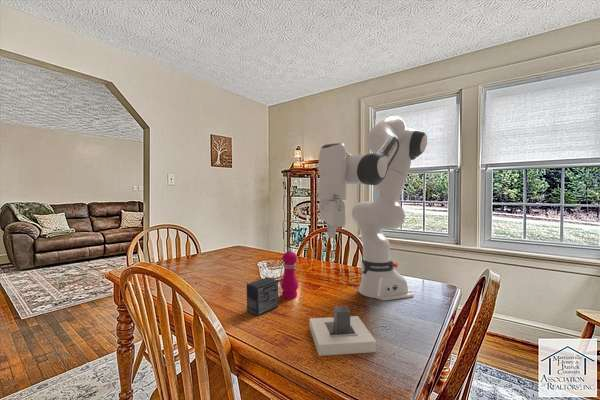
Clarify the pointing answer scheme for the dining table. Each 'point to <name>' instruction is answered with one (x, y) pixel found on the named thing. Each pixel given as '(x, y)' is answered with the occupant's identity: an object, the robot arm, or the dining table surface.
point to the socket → (341, 337)
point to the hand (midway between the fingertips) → (331, 237)
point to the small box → (262, 296)
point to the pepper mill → (289, 276)
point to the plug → (341, 320)
